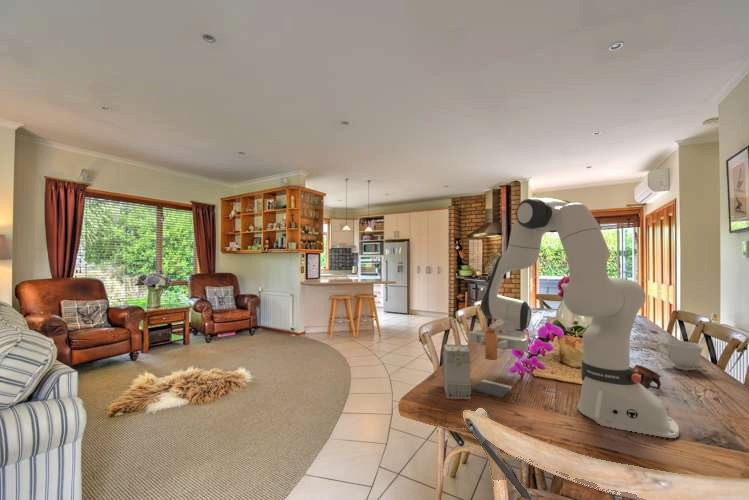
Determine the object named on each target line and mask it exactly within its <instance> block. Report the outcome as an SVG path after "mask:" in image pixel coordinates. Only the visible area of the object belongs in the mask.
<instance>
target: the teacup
mask: <svg viewBox="0 0 749 500" xmlns="http://www.w3.org/2000/svg"><path fill="white" fill-rule="evenodd" d="M661 345H662V346H663V348H664V349H667V352H665V351H663V350H661V349H660V348H659V347H660V346H661ZM704 348H705V346H704V345H703V344H701V343H700V344H699V343H695V342H691V341H685V340H684V341H683V340H674V339H673V340H672V339H671V340H670V339H669V340H665V341H663V342H662V341H659V342H657V343H656V345H655V349H656V350H657V351H658V352H659V353H660V354H663V355H665V356H666V357H668V359H669V361H670V362H671V363H672V364H674V368H676V369H678V370H681V369H682V371H688V370H693V371H694V370H695V368H697V366H698V365H700V363H701V362H700V361H701V356H702V350H703V349H704Z"/></svg>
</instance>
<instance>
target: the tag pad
mask: <svg viewBox="0 0 749 500" xmlns="http://www.w3.org/2000/svg"><path fill="white" fill-rule="evenodd" d="M511 390H512V386H511V385H508V384H505V383H504V384H503V383H500V382H499V383H498V382H494V381H491V380H486V379H482V380H480V381H479V382H477V383H476V384H474V386H471V391H474V392H477V393H481V394H485V395H488V396H492V397H497V398H500V399H502V398H503V397H505V395H506V394H507V393H509V392H510V391H511Z"/></svg>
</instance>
